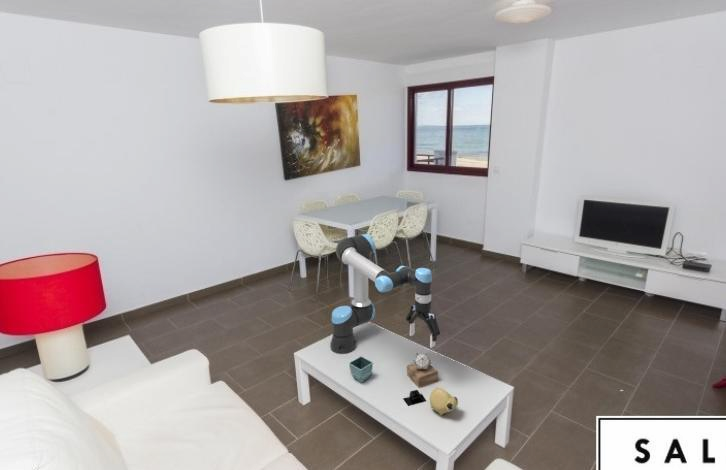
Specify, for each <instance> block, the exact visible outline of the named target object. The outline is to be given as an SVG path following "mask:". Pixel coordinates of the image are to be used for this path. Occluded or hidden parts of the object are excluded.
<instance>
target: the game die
mask: <svg viewBox="0 0 726 470" xmlns="http://www.w3.org/2000/svg"><path fill="white" fill-rule="evenodd" d="M413 361H414V362H413V364H414V363H415V364H416V366H417V368H418V369H427V368H428V366H429V364H430V365H431V364H432V363H431V360H429V357H428V353H426V354H422V353H421V354H419V353H418V352H416V357H415V359H413ZM418 369H417V370H418ZM427 371H428V369H427Z"/></svg>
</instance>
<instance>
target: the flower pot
mask: <svg viewBox="0 0 726 470" xmlns="http://www.w3.org/2000/svg"><path fill="white" fill-rule="evenodd" d="M348 364H349V370H350V374H351V376H353V378H354V379H356V380H357V381H359V382H360V383H363V382H364V381H366V380H368V379H369V378H370V376H371V374H372V371H373V365H374V361H372V360H369V359H368V358H366V357H364V356H362V355H361V356H359V357H357V358H355V359H353V360H351V361H350V362H348Z"/></svg>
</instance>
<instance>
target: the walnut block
mask: <svg viewBox="0 0 726 470" xmlns="http://www.w3.org/2000/svg"><path fill="white" fill-rule="evenodd" d="M417 369H418V368H417V366H416V364H415V363H414V362H413V363H412V364H409V365H407V366H406V376H407V377H408V378H409V379H410V381H411V382H413V383H414V384H415V386H416V387H417V388H418V389H420V388H424V387H425V386H428V385H431V384H434V383H437V382H438V381H439V380H438V379H439V371H438V370H437V369H436V368H435V367H434V366H432V365H431V364H430V363H429V366H428V368H427V369H428V371H427V369H418V370H417Z"/></svg>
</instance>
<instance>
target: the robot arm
mask: <svg viewBox="0 0 726 470" xmlns="http://www.w3.org/2000/svg"><path fill="white" fill-rule="evenodd" d="M375 251H376V244H375V242H374V239H373V238H372V237H371V236H370V235H369V234H367V233H364V234H358V235H353V236H351V237H345V238H342V239H341V240H340V241H338V243H337V245H336V247H335V253H336V256H337V258H338V260H339V261H340V262H341V263H343V264H344V265H349V266H350V267H352V269H353V271H352V273H353V274H352V277H353V282H352V284H353V299H352V300H351V306H348V305H340V306H337V307H335V308H334V309H333V310H332V312H331V328H332V337H331V341H330V346H329V347H330V350H331V351H332V352H334V353H336V354H343V355H344V354H348V353H351V352H353V351H355V350H356V348H357V340H356V338H355V335H354V333H353V332H354V330H353V329H354V328H356V327H359V326H361V325H364V324H367V323H369V322H371V321H372V320H373V319H374V318H375V316H376V308H375V305H374V303H373V302H372V300H370V298H369V280H371V281H372V282H373V283H374V285H375V288H376V289H377V291H378V292H380V293H386V292H391V291H392V290H395V289H398V288H400V287H404V286H407V285H410V286H412V287H414V294H415V295H414V296H415V297H414V300H415V301H414V304H412V305H411V306H410V310H409V312H408V314H407V315H406V318H405V320H406V322H407V323H408V329H409V337H412V336H414V335H415V333H416V331H415V330H416V328H415V326H416V323H415V320H416V319H418V318H419V319H421V320H422V321H424V323H426V325H427V328H428V329H429V332H430V336H429V337H430V339H429V340H430V342H429V347H430V348H431V349H433V348H434V347H435V346H436V341H437V338H438V337H437V336H439V335H441V330H440V327H439V325H438V323H437V322H438V321H437V319H436V318H437V317H436V314H435V313H431V309H432V284H433V283H432V282H433V277H432V275H433V274H432V270H431V269H429V268H425V267H419V268H417V269H414V268H412V267H409V266H405V265H400V266H399V267H397V269H396V270H395V271H393V272H389V271H387V270H385V269H384V268H382V267H381V266H379V265H377V264H375V263H374V262H373V261H372V260H371V259H372V254H373V253H374V252H375Z"/></svg>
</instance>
